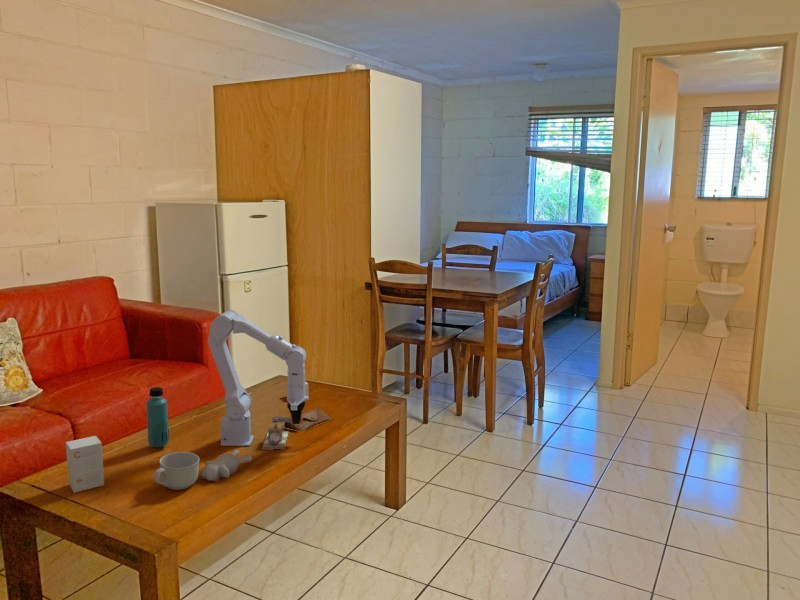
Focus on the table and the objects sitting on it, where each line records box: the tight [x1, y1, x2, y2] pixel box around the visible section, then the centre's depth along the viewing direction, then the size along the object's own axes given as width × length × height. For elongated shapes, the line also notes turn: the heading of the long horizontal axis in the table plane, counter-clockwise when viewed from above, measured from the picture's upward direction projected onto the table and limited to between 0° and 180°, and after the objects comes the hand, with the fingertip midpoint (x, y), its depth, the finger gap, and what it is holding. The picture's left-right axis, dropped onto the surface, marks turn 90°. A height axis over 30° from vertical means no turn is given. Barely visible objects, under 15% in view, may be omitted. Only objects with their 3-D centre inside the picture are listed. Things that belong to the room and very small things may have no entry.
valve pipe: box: [267, 423, 284, 446], centre depth 213 cm, size 11×4×6 cm, turn 3°
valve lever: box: [271, 416, 303, 424], centre depth 212 cm, size 10×2×2 cm, turn 93°
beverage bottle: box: [145, 386, 170, 448], centre depth 204 cm, size 6×7×20 cm
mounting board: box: [261, 430, 290, 450], centre depth 213 cm, size 13×7×1 cm, turn 3°
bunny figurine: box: [199, 449, 253, 482], centre depth 190 cm, size 10×5×15 cm
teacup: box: [153, 451, 200, 491], centre depth 180 cm, size 14×11×8 cm
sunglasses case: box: [283, 407, 332, 431], centre depth 230 cm, size 18×7×7 cm, turn 146°
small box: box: [65, 435, 105, 494], centre depth 179 cm, size 8×6×13 cm
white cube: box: [305, 381, 310, 396], centre depth 257 cm, size 6×6×6 cm
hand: (296, 423), depth 211 cm, fingers closed
